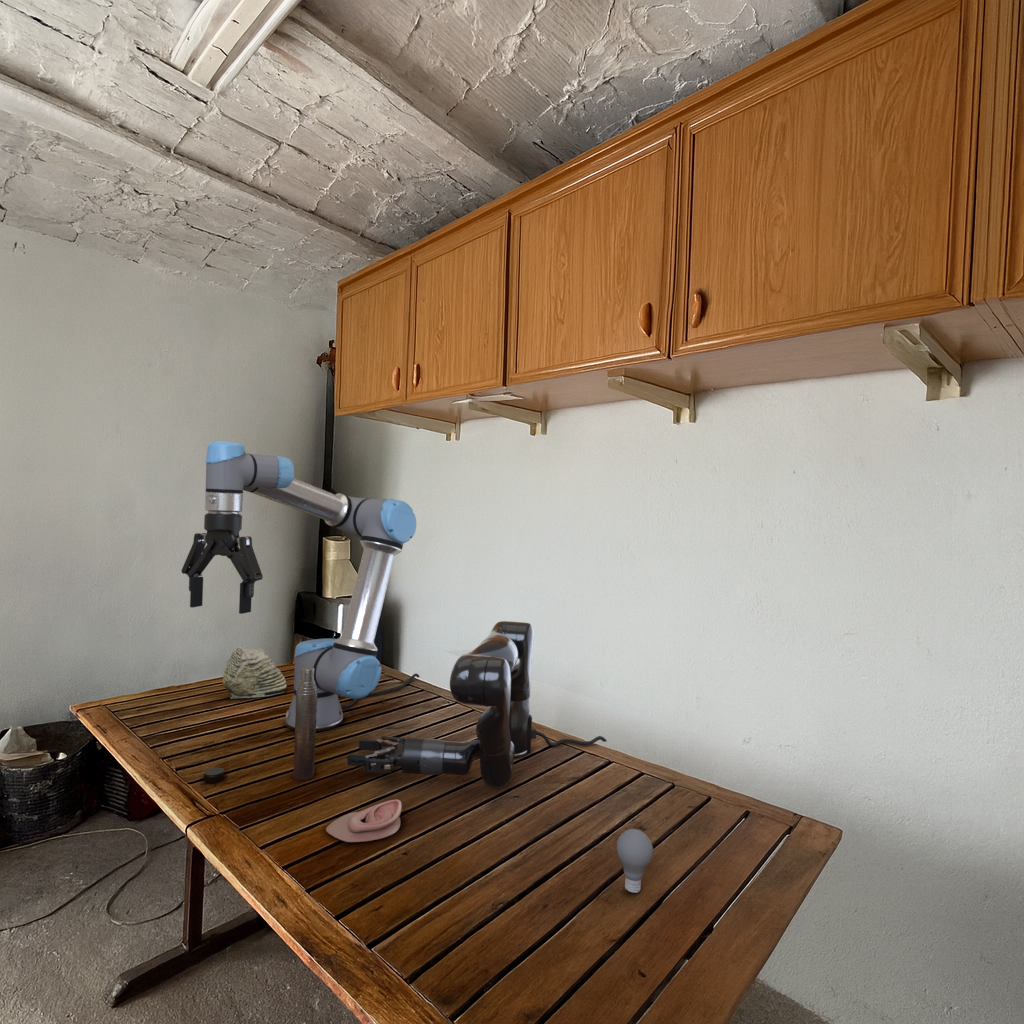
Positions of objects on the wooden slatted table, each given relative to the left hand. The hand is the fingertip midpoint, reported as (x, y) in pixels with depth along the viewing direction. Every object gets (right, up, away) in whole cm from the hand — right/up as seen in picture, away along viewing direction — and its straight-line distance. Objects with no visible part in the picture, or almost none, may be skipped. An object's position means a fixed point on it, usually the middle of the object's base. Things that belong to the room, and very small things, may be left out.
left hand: (220, 609), depth 139 cm
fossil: (-17, -36, +59) cm, 71 cm away
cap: (-2, -36, +1) cm, 36 cm away
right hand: (+28, -33, +4) cm, 43 cm away
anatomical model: (+36, -40, -17) cm, 56 cm away
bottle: (+17, -38, +4) cm, 42 cm away
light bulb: (+84, -42, -33) cm, 100 cm away
